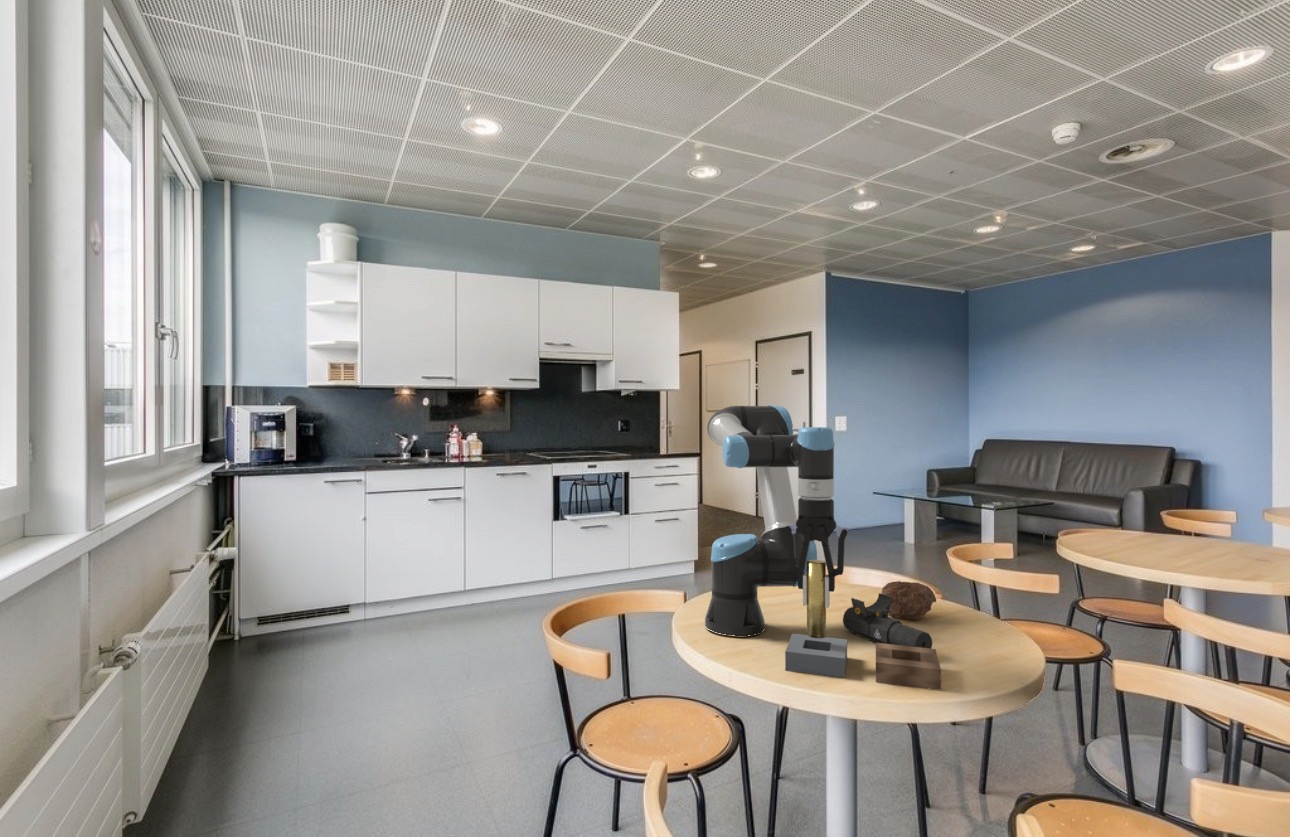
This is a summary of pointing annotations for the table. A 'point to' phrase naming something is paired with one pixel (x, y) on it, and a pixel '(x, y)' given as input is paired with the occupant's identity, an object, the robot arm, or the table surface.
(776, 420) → the robot arm
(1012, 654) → the table surface
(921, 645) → the laser sight
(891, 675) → the dock block
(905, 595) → the brown lumpy rounded lump
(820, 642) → the mount block
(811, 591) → the brass pin
